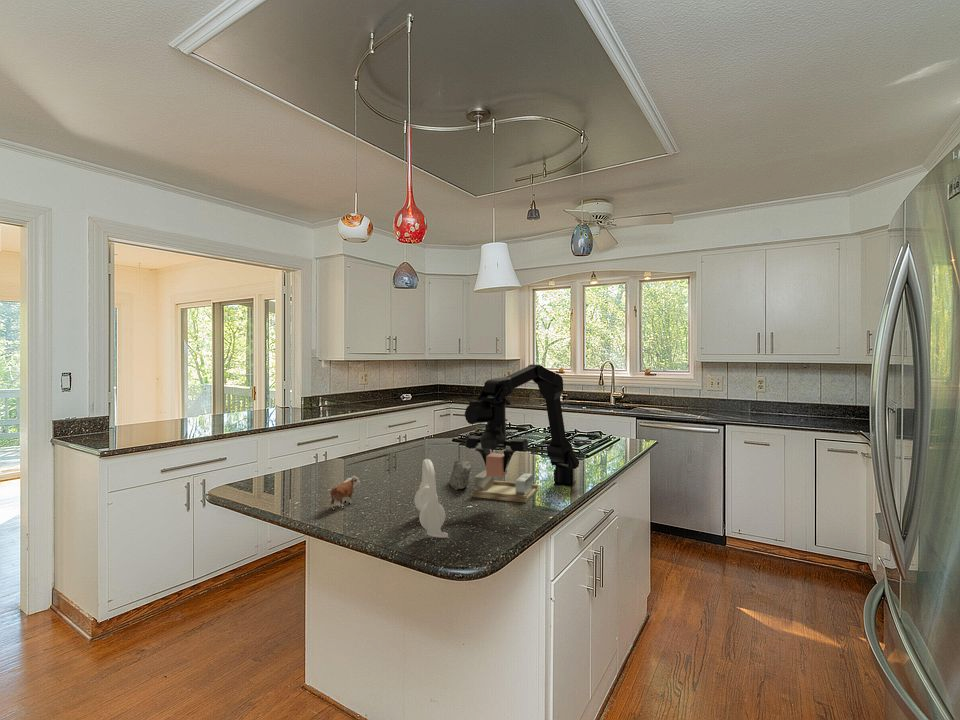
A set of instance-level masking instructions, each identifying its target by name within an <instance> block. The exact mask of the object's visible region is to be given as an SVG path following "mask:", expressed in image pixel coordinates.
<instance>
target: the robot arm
mask: <svg viewBox="0 0 960 720" xmlns="http://www.w3.org/2000/svg"><path fill="white" fill-rule="evenodd" d="M530 381H532V382H533V383H535V384H536V385H537V387H538V391H539V394H540V395H541V396H542V397H543V399H544V401H545V404H546V405H545V406H546V412H547V419H548V425H549V432H550V437H551V439H550V442H549V444H547V445H546V451H547V457H548V458H549V460H550V464H551V466H554V470H553V482H554V483H553V485H554V486H562V485H564V487H574V486H575V484H576V479H575V477H576V476H575V475H576V473H575V470H576V469H577V468H579V466H580V460H579V459H578V458H577V456H576V455H575V453H574V450H573V446H572V444H571V443H570V441H569V440H568V439H567V436H566V435H567V434H566V430H565V423H564V417H563V410H562V403H561V396H562V394H563V392H564V379H563V377H562V375H560V374H559V373H556V372H554V371H552V370H550V369H548V368H545V367H544V366H543V365H542V364H529V365H528V366H526V367H525V368H522V369H520V370H517V371H515V372H514V373H511V374H509V375H507V376H503V377H497V378H496V377H495V378H491V379H487V380H486V381H484V385H483V387H482V389H481V391H480V393H479V395H478V397H477V399H476V400H469V402H468V403H469V405H467V407H466V409H465V411H464V418H465V420H466V422H467V423H468V424H470V425H474V424H476V425H477V424H483V423H486V424H485V426H484V427H485V430H484V432H483V433H482V434H481V435H480V436H479V435H472V436H470V437H467V438H466V439H465V441H464V442H465V446H464V447H465V448H468V449H475V451H476V452H478V453H479V454H480V455H481V457H482V459H483V463H484V465H485V466H486V456H488V455H489V454H491V450H496V449H497V448H498V447H502V448H505V450H503V454H504V472H506V470H507V471H508V468H509V464H510V462H511V459H512V457H513V455H514V454H515V452H524V451H526V450H527V449H528V448H529V441H528V440H527V439H526V438H514V439H512V440H507V439H508V436H507V435H506V432H507V431H506V429H507V428H506V427H507V425H508V424H507V422H506V415H507V414H506V407H507V406H510V405H512V403H511V402H510V401H509V400H508V399H507V398H508V397H509V396H510V395H512V393H513V391H514V389H517V388H519V387H520V386H523V385H524V384H526V383H528V382H530ZM574 483H575V484H574Z"/></svg>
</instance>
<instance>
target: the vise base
mask: <svg viewBox="0 0 960 720" xmlns="http://www.w3.org/2000/svg"><path fill="white" fill-rule="evenodd" d="M494 479H495V478H494V477H493V476H486V469H485V470H483V471H481V472H480V473H478V474H476V475H475V476H474V489H473V490H472V491H471V495H472V498H480V499H488V500H496V501H497V500H498V501H508V502H517V503H527V502H528V501H529V500H530V499H531V498H532V497H533V495H535V494H536V493H537V492H538V490H539V489H538V486H539V485H538V484H536V483H533V489H532V490H531V491H530V492H529V493H528V494H527V495H519V494H516V487H515V482H513V481H505V480H504V481H502V480H496V479H495V480H494Z"/></svg>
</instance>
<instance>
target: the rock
mask: <svg viewBox="0 0 960 720" xmlns="http://www.w3.org/2000/svg"><path fill="white" fill-rule="evenodd" d="M471 470H472V465H471V461H470V460H459V459H457V460H456V461H455V462H454V464H453V466H452V472H451V474H450V479H449V485H450V486H451V487H452V489H454V490H455V491H457V490H462V489H464V488H467V487H468V484H469V478H470V472H471Z"/></svg>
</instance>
